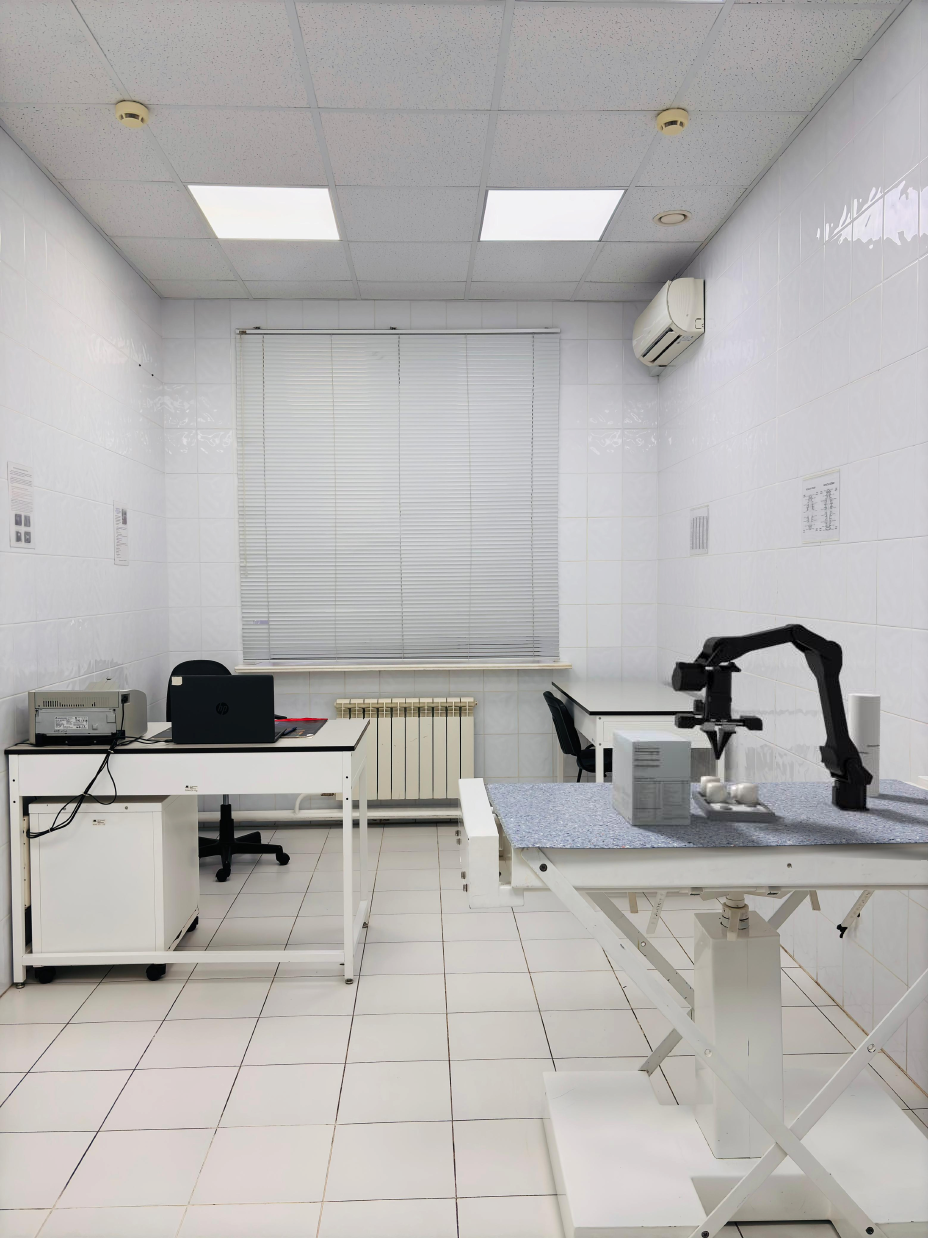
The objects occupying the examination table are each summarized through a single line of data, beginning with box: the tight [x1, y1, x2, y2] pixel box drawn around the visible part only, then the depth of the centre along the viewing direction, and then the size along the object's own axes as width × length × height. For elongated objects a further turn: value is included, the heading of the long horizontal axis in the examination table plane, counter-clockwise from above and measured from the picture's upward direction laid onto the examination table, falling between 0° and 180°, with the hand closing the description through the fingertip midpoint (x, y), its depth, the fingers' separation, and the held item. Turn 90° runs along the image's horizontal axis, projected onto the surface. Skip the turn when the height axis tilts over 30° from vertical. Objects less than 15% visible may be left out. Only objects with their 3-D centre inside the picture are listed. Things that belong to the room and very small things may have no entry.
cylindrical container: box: [847, 692, 881, 798], centre depth 204 cm, size 7×7×25 cm
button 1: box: [700, 775, 721, 796], centre depth 192 cm, size 4×4×4 cm
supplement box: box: [611, 729, 692, 826], centre depth 180 cm, size 17×13×18 cm
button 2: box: [707, 782, 728, 804], centre depth 185 cm, size 4×4×4 cm
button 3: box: [730, 784, 738, 798], centre depth 192 cm, size 4×4×4 cm
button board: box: [691, 790, 776, 823], centre depth 186 cm, size 14×20×2 cm
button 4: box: [737, 782, 759, 805], centre depth 185 cm, size 4×4×4 cm
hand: (717, 759), depth 185 cm, fingers closed
